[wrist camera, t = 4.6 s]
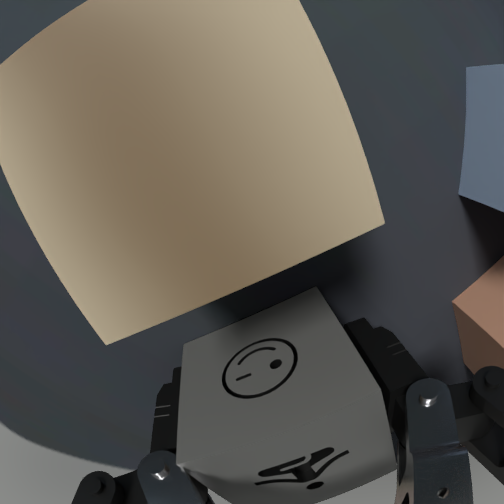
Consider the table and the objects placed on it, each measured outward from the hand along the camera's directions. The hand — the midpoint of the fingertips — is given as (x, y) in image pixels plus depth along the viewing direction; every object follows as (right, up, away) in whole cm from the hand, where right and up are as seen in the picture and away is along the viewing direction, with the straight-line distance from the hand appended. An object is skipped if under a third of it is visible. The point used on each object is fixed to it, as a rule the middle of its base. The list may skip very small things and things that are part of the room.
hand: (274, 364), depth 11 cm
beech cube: (-3, +7, -2) cm, 8 cm away
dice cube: (0, 0, +1) cm, 1 cm away
